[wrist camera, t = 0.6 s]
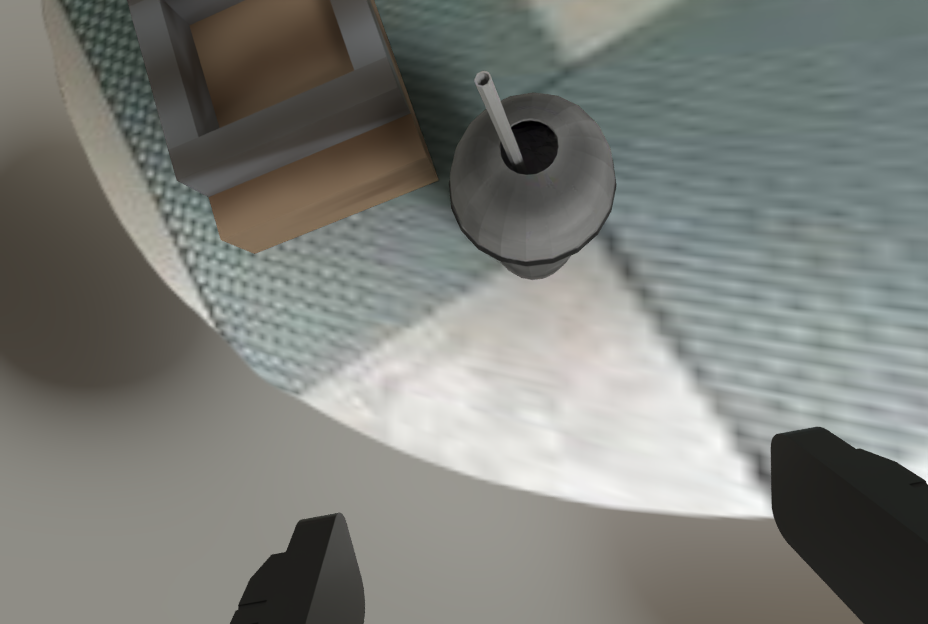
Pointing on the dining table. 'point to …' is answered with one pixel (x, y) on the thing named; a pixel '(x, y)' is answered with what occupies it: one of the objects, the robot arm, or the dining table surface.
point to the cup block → (281, 111)
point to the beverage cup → (531, 180)
